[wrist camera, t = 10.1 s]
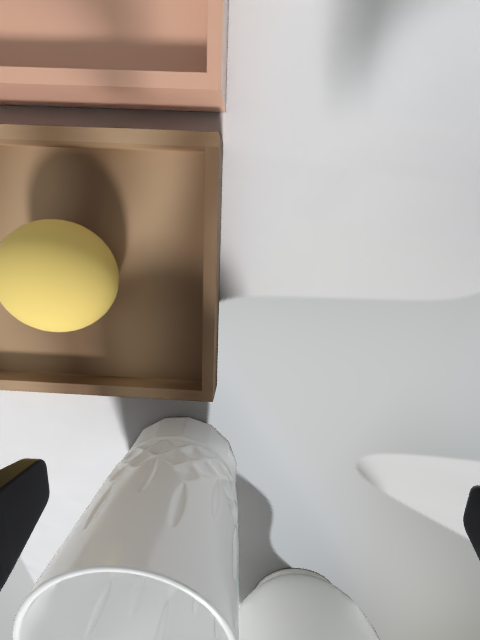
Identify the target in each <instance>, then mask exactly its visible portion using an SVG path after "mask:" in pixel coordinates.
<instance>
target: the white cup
mask: <svg viewBox="0 0 480 640" xmlns="http://www.w3.org/2000/svg"><path fill="white" fill-rule="evenodd" d="M12 640H239V530H238V502H237V493H236V460H235V458H234V455H233V452H232V449H231V447H230V444H229V442H228V440H227V439H225V438H224V437H223V436H222V435H221V434H220V433H219V432H218V431H217V430H216V429H215V428H214V427H213V426H212V425H209V424H207V423H204V422H201V421H198V420H196V419H193V418H190V417H179V418H164V419H162V420H160V421H158V422H156V423H154V424H152V425H151V426H149V427H147V428H145V429H144V430H143V431H142V432H141V434H140V435H139V437H138V438H137V440H136V441H135V442H134V444H133V445H132V447H131V448H130V450H129V451H128V453H127V454H126V455H125V457H124V458H123V459H122V460H121V461H120V462H119V463H118V464H117V465H116V466H115V468H114V470H113V471H112V473H111V474H110V475H109V476H108V478H107V479H106V480H105V482H104V483H103V484H102V486H101V487H100V489H99V490H98V492H97V493H96V495H95V496H94V498H93V499H92V501H91V502H90V504H89V505H88V507H87V508H86V510H85V511H84V513H83V514H82V516H81V517H80V519H79V520H78V521H77V523H76V524H75V526H74V527H73V529H72V530H71V532H70V533H69V535H68V536H67V538H66V539H65V541H64V542H63V544H62V545H61V547H60V548H59V550H58V551H57V553H56V554H55V556H54V557H53V559H52V560H51V561H50V563H49V564H48V566H47V567H46V569H45V570H44V572H43V573H42V575H41V576H40V578H39V579H38V581H37V582H36V584H35V585H34V587H33V588H32V589H31V591H30V592H29V594H28V595H27V597H26V598H25V600H24V601H23V603H22V604H21V606H20V608H19V610H18V612H17V614H16V617H15V620H14V624H13V631H12Z"/></svg>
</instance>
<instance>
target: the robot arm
mask: <svg viewBox="0 0 480 640" xmlns="http://www.w3.org/2000/svg"><path fill="white" fill-rule="evenodd" d="M48 499H49V483H48V475H47V467H46V463H45V461H43V460H41V459H28V458H27V459H22V460H19V461H17V462H15V463H13V464H11V465H9V466H7V467H5V468H3V469H1V470H0V591H1V589H2V587H3V585H4V584H5V582H6V581H7V579H8V577H9V575H10V573H11V572H12V570H13V568H14V566H15V564H16V562H17V560H18V558H19V556H20V554H21V552H22V551H23V549H24V547H25V545H26V543H27V541H28V539H29V537H30V535H31V533H32V531H33V529H34V527H35V525H36V524H37V522H38V520H39V518H40V516H41V514H42V512H43V510H44V508H45V506H46V504H47V502H48ZM463 522H464V527H465V530H466V533H467V535H468V537H469V539H470V541H471V543H472V545H473V547H474V549H475V551H476V554H477V556H478V558H479V560H480V486H479V485H477V486H473V487H472V488H471V490H470V493H469V497H468V501H467V505H466V509H465V513H464V517H463Z"/></svg>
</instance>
